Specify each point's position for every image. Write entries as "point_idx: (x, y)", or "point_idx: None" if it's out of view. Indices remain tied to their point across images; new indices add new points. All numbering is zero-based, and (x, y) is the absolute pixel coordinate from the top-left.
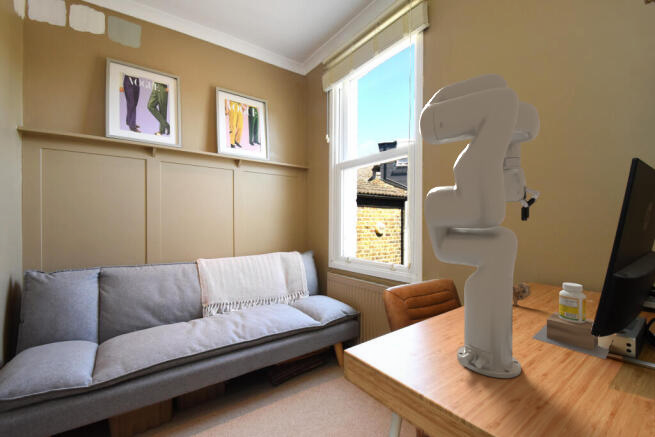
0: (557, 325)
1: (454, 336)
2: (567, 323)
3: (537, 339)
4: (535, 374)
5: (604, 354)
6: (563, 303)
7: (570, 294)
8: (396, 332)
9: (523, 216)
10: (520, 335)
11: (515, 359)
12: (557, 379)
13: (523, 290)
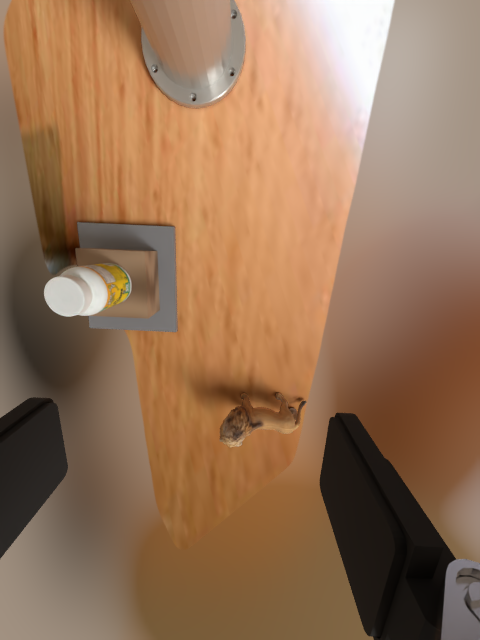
0: (130, 250)
1: (281, 126)
2: (112, 253)
3: (164, 227)
4: (130, 77)
5: (82, 242)
6: (103, 269)
7: (75, 270)
8: (387, 31)
9: (4, 416)
10: (195, 240)
11: (158, 82)
12: (105, 88)
13: (230, 421)
